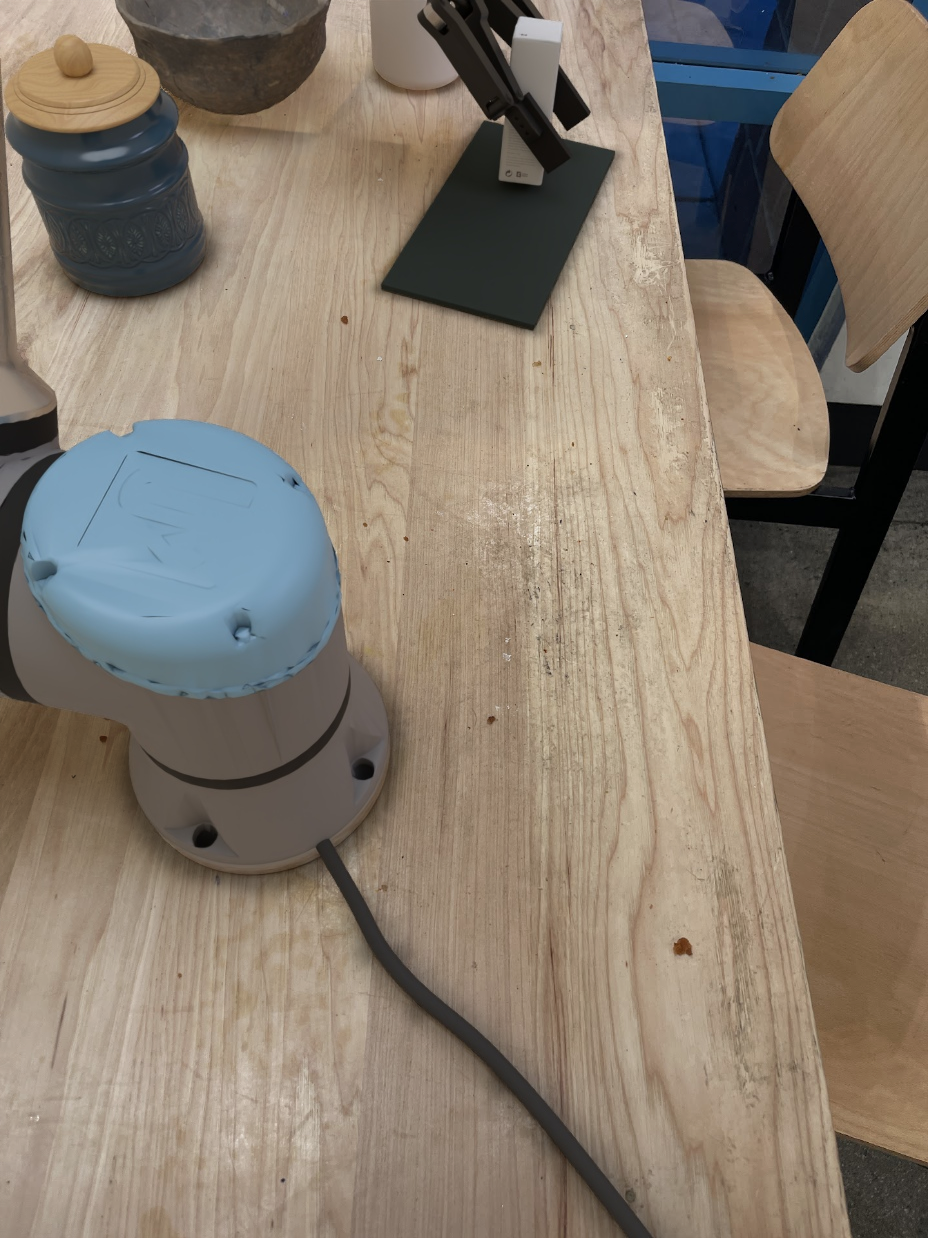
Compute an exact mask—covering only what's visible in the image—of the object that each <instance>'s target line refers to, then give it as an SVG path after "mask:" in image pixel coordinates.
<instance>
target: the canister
mask: <svg viewBox="0 0 928 1238" xmlns="http://www.w3.org/2000/svg"><path fill="white" fill-rule="evenodd" d="M53 44H54V45H53V47H49V48H46V49H44V50H42V51H40V52H38V53H36V54H34V55H32V56H31V57H29V58H28V59H27V60H26V61H25V62H23V64H22V65H21V67H20V68H19V69H18V70H17V71H16V72H15V73H14V74H12V76H11V77H10V79H8V81H7V83H6V84H5V87H4V90H3V97H4V98H3V100H4V103H5V106H6V107H7V109H8V111H9V112H8V114H7V116H6V119H5V121H4V128H5V138H6V140H7V142H8V143H9V146H11V148H12V149H13V150H14V151H15V153H17V154H18V155H20V156H21V158H22V163H21V176H22V179H23V182H24V184H25V185H26V187H27V188H28V189H29V191H30V193H31V195H32V199H33V200H34V202H35V205H36V207H37V210H38V213H39V216H40V217H41V219H42V220H41V221H42V222H43V225H44V228H45V229H46V230H45V231H46V232H47V235H48V242H49V246H50V248H51V251H52V252H53V255H54V258H55V260H56V262H57V263H58V264H59V266H60V267H61V268H62V270H63V271H64V273H65V275H66V276H67V277H68V278H69V280H71V281H72V283H74V284H75V285H77V286H79V287H80V288H82V289H84V290H86V291H89V292H92V293H95V294H99V295H103V296H109V297H123V298H124V297H125V298H126V297H139V296H140V297H141V296H146V295H151V294H154V293H158V292H161V291H163V290H167V289H169V288H171V287H173V286H176V285H178V284H179V283H182V281H184V280H185V279H187V278H188V277H189V276H191V275H192V274H193V273H194V272H195V271H196V270H197V269H198V268H199V266H200V265H201V263H202V262H203V259H204V257H205V254H206V250H207V246H206V245H207V243H206V237H207V230H206V225H205V221H204V216H203V214H202V211H201V209H200V208H199V203H198V200H197V196H196V192H195V187H194V183H193V178H192V175H191V170H190V165H189V163H190V162H189V161H190V157H189V151H188V148H187V146H186V143H185V142H184V140H183V139H182V137H180V135H179V134H178V133H177V129H178V125H179V122H180V113H179V108H178V106H177V104H176V102H175V100H174V98H173V97H172V96H171V95H170V94H169V92H168V91H166V90H164V89H163V88H161V85H160V80H159V77H158V74H157V73H156V71H155V70H154V68H153V67H152V66H151V65H149V64H148V63H147V62H145V61H144V60H142V59H140V58H138V56H136V55H133V54H131V53H128V52H127V51H125V50H123V49H121V48H119V47H117V46H113V45H109V44H104V43H100V42H99V43H98V42H85V41H84V39H82V38H81V37H79V36H77V35H74V34H63V35H60V36H59V37H58V38H56V40H55V41H54V43H53Z"/></svg>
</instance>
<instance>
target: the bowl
mask: <svg viewBox="0 0 928 1238" xmlns="http://www.w3.org/2000/svg"><path fill="white" fill-rule="evenodd" d="M114 2H115V9H116V10H117V12H118V13H119V15H120V17H121V18H122V20H123V22H124V23H125V25H126V26H127V28H128V30H129V32H130V35H131V37H132V40H133V45H134V49H135V52H136V55H137V56H136V57H138V58H140V59H142V60H144V61H145V62H147V63H148V64H149V65H151V66H152V67H153V68H154V70H155V71H156V73H157V74H158V77H159V80H160V87H162V88H164V89H165V91H166V92H168V93H170V94H172V95H173V96H175V97H176V98H177V99H179V100H182V101H183V102H184V103H187V104H188V105H190V106H192V107H194V108H197V109H200V110H203V111H207V112H209V113H213V114H217V115H227V116H245V115H251V114H258V113H260V112H263V111H266V110H268V109H270V108H272V107H274V106H276V105H277V104H279V103H281V102H283V101H285V100H286V99H288V98H289V97H290V96H291V95H292V94H294V93H296V92H297V90H298V89H299V88H300V87H301V86H302V85H303V84H304V83H305V82H306V81H307V79H309V78H310V76H312V74H313V72H314V71H315V69H316V67H317V65H318V64H319V62H320V61H321V59H322V56H323V54H324V52H325V50H326V47H327V26H326V23H327V17H328V12H329V9H330V6H331V2H332V0H114Z"/></svg>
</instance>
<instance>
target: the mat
mask: <svg viewBox="0 0 928 1238" xmlns="http://www.w3.org/2000/svg"><path fill="white" fill-rule="evenodd" d="M503 129H504V123H498V122H496V121H491V120H487V119H484V120H483V121H482V123H481V124H480V126H479V128H478V129H477V131H476V132H475V134H474V136H473V137H472V138H471V140H470V142H469V143H468V145H467V146H466V149H465V150H464V152H463V153H462V155H461V156H460V158H459V159H458V161H457V162H456V164H455V165H454V167H453V169H452V170H451V172H450V174H449V175H448V177H447V178H446V180H445V182H444V183H443V185H442V186H441V188H440V189H439V191H438V193H437V194H436V195H435V197H434V199H433V201H432V202H431V204H430V205H429V207H428V208H427V210H426V212H425V213H424V215H423V216H422V218H421V220H420V221H419V223H418V224H417V226H416V227H415V229H414V231H413V232H412V234H411V235H410V237H409V239H408V240H407V242H406V244H405V245H404V247H403V248H402V249H401V251H400V253H399V255H398V256H397V257H396V260H395V261H394V263H393V264H392V266H391V267H390V269H389V270H388V272H387V274H386V275H385V277H384V278H383V280H382V282H381V283H380V289H381V290H382V291H386V292H389V293H393V294H397V295H400V296H403V297H408V298H412V299H415V300H419V301H422V302H426V303H430V304H434V305H437V306H442V307H445V308H449V309H452V310H457V311H459V312H463V313H468V314H470V315H475V316H479V317H483V318H486V319H489V320H494V321H497V322H501V323H505V324H508V325H512V326H516V327H520V328H522V329H523V328H524V329H527V330H531V331H534V330H535V329H536V327H537V324H538V322H539V320H540V319H541V316H542V313H543V312H544V309H545V307H546V306H547V303H548V301H549V298H550V296H551V295H552V292H553V290H554V287H555V285H556V284H557V281H558V280H559V276H560V275H561V273H562V271H563V268H564V266H565V264H566V262H567V259H568V257H569V255H570V253H571V251H572V249H573V246H574V244H575V243H576V240H577V238H578V236H579V234H580V232H581V230H582V227H583V225H584V223H585V221H586V219H587V216H588V214H589V212H590V210H591V208H592V206H593V204H594V201H595V199H596V197H597V195H598V192H599V191H600V188H601V186H602V184H603V183H604V180H605V178H606V175H607V174H608V171H609V169H610V167H611V165H612V163H613V161H614V158H615V156H616V150H614V149H609V148H606V147H602V146H596V145H594V144H593V145H592V144H588V143H583V142H580V141H575V140H571V139H566V138H563V137H561V138H562V140H563V141H564V142H565V144H566V145H567V147H568V148H569V150H570V151H571V152H572V156H571V158H570V159H569V160H568V161H566V162H565V163H563V164H562V165H560V166H559V167H557V168H556V169H554V170H553V171H552V172H550V173H549V174H547V172H546V171H545V170H544V172H543V178H542V184H541V185H531V184H523V183H515V182H506V181H500V180H499V169H500V159H501V149H502V139H503Z"/></svg>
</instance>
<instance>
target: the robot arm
mask: <svg viewBox="0 0 928 1238" xmlns="http://www.w3.org/2000/svg"><path fill="white" fill-rule="evenodd" d="M519 17H529V18H536V19H544V20H546V19H545V18H544V15H542V13H541V12H540V10H539V9H538V8H537V6H536V5H535V4H534V2H533V0H427V2H426V6H425V7H424V8H423V9H422V10H421V11H420V12H419V13H418V14H417V18H418V21H419V23H420V24H421V25H422V27H423V28H424V29H425V30H426V31H427V32H428V33H429V34H430V35H431V36H432V37H433V38H434V39H435V40H436V42H437V43H438V45H439V46H440V48H441V49H442V51H443V52H444V54H445V55H446V57H447V58H448V60H449V61H450V63H451V64H452V66H453V67H454V69H455V70H456V72H457V73H458V75H459V76H458V77H459V78H460V79H461V81H462V82H463V84H464V85H465V87H466V89H467V90H468V92H469V93H470V95H471V96H472V98H473V99H474V101H475V102H476V104H477V105H478V106H479V108H480V110H481V111H482V112H483V114H484V116H485V117H486V119H487V120H488V121H493V122H496V121H498V120H500V118H502V117H503V116H504V117H505V116H506V117H507V119H508V120H509V122H510V123H511V124H512V126H513V127H514V128H515V130H516V131H517V133H518V134H519V135H520V137H521V138H522V139H523V141H524V142H525V144H526V145H527V146H528V148H529V149H530V150H531V152H532V153H533V155H534V156H535V157H536V159H537V160H538V161H539V163H540V164H541V166H542V167H543V168H544V170H545V171H546V172H547V174H549V173H550V172H552V171H553V170H554V169H556V168H557V167H559V166H560V165H562V164H563V163H565V162H566V161H568V160H569V159H570V158H571V156H572V152H571V151H570V150H569V148H568V147H567V145H566V144H565V142H564V141H563V140H562V138H563V137H561V135H560V134H559V132H558V131H557V129H556V128H555V127H554V125H553V124H552V121H551V122H550V121H549V120H548V118H547V117H546V115H545V114H544V112H543V111H542V110H541V108H540V107H539V105H538V104H537V102H536V101H535V100H534V98H533V97H532V95H531V94H530V92H528V93H527V94H525V95H524V96H523V93H522V91H521V89H520V87H519V85H518V83H517V81H516V79H515V77H514V74H513V72H512V70H511V68H510V63H509V62H508V61H507V59H506V57H505V54H504V52H503V50H502V48H501V46H500V43H499V42H498V40H497V38H496V36H495V34H496V35H497V36H498V37H499V38H500V39H501V40H502V41H503V42H504V43H505V44H506V45H507V46H508V47H509V48H510V49H511V47H512V39H513V35H514V31H515V26H516V24H517V22H518V19H519ZM494 32H495V34H494ZM1 61H2V60H1V59H0V698H4V699H9V700H12V701H13V700H14V701H19V702H24V703H32V704H36V705H41V706H45V707H48V708H49V707H50V708H55V709H59V710H63V711H69V712H72V713H77V714H81V715H87V716H93V717H98V718H103V719H106V720H111V721H114V722H117V723H119V724H122V725H124V726H126V727H127V729H128V730H129V732H130V735H129V746H128V768H129V769H128V770H129V777H130V782H131V786H132V790H133V793H134V795H135V798H136V801H137V803H138V805H139V807H140V809H141V811H142V812H143V814H144V816H145V817H146V818H147V821H148V822H149V824H151V825H152V827H153V828H154V829H155V831H156V832H157V833H158V835H160V836H161V838H162V839H163V840H164V841H165V842H166V843H168V845H169V846H171V848H173V849H174V850H176V851H177V852H178V853H179V854H181V855H182V856H184V857H185V858H188V859H189V860H191V861H193V862H195V863H196V864H199V865H201V866H203V867H206V868H210V869H213V870H216V871H218V872H224V873H229V874H237V875H265V874H274V873H277V872H284V871H287V870H291V869H293V868H297V867H300V866H302V865H305V864H307V863H308V864H309V862H312V861H314V860H317V859H318V858H321V860H322V862H323V864H324V865H325V867H326V869H327V871H328V872H329V874H330V876H331V877H332V879H333V881H334V883H335V885H336V886H337V888H338V890H339V891H340V893H341V896H342V897H343V899H344V900H345V902H346V904H347V906H348V907H349V910H350V912H351V913H352V915H353V917H354V919H355V921H356V924H357V926H358V927H359V929H360V931H361V933H362V935H363V938H364V939H365V941H366V943H367V945H368V946H369V948H370V950H371V952H372V953H373V954H374V956H375V958H376V959H377V960H378V962H379V963H380V965H381V966H382V967H383V968H384V970H385V971H386V972H387V973H388V974H389V975H390V977H391V978H392V980H394V982H395V983H396V984H398V986H399V987H400V989H402V990H403V991H404V992H405V993H406V994H407V995H408V996H409V997H410V998H411V999H412V1000H413V1001H414V1002H415V1003H417V1004H418V1005H419V1006H420V1007H421V1008H422V1009H423V1010H424V1011H426V1012H427V1013H428V1014H429V1015H430V1016H431V1017H433V1019H435V1020H436V1021H437V1022H439V1023H440V1024H441V1025H443V1026H444V1027H445V1028H446V1029H447V1030H448V1031H449V1032H451V1033H452V1034H453V1035H454V1036H455V1037H457V1038H458V1039H459V1040H460V1041H461V1042H463V1044H465V1045H466V1046H467V1047H468V1048H469V1049H470V1050H471V1051H472V1052H473V1053H474V1054H476V1055H477V1056H478V1057H479V1058H480V1059H481V1060H482V1062H483V1063H484V1064H486V1065H487V1067H488V1068H489V1069H490V1070H491V1071H492V1072H493V1073H494V1074H495V1075H496V1076H497V1077H498V1079H500V1081H501V1082H502V1083H503V1084H504V1085H505V1086H506V1087H507V1088H508V1089H509V1091H510V1092H511V1093H512V1094H513V1095H514V1096H515V1097H516V1098H517V1100H519V1102H520V1103H521V1104H522V1105H523V1106H524V1108H525V1109H526V1110H527V1111H528V1112H529V1113H530V1114H531V1115H532V1117H533V1119H535V1121H536V1122H537V1123H538V1124H539V1126H541V1128H542V1129H543V1130H544V1131H545V1133H546V1134H547V1135H548V1136H549V1138H550V1139H551V1140H552V1142H553V1143H554V1144H555V1145H556V1146H557V1147H558V1149H559V1150H560V1151H561V1153H562V1154H563V1155H564V1157H566V1159H567V1160H568V1162H570V1164H571V1165H572V1166H573V1168H574V1169H575V1170H576V1172H577V1173H578V1175H580V1177H581V1178H582V1180H584V1182H585V1184H587V1186H588V1187H589V1188H590V1190H591V1191H592V1192H593V1194H594V1195H595V1197H597V1199H598V1201H600V1202H601V1204H603V1206H604V1208H605V1209H606V1211H607V1212H608V1213H609V1214H610V1215H611V1217H612V1218H613V1219H614V1221H615V1222H616V1223H617V1224H618V1226H619V1227H620V1229H622V1231H623V1232H624V1234H625V1236H627V1238H654V1237H653V1236H652V1233H650V1232H649V1230H648V1229H647V1228H646V1226H645V1224H644V1223H643V1222H642V1221H641V1220H640V1218H639V1217H638V1216H637V1214H636V1213H635V1211H634V1210H632V1208H631V1207H630V1204H628V1203H627V1201H626V1200H625V1199H624V1198H623V1197H622V1195H621V1193H619V1191H618V1190H617V1189H616V1187H615V1186H614V1185H613V1183H612V1182H611V1181H610V1180H609V1179H608V1177H607V1176H606V1175H605V1173H604V1172H603V1171H602V1169H601V1168H600V1167H599V1166H598V1165H597V1163H596V1162H595V1161H594V1160H593V1158H592V1157H591V1156H590V1155H589V1154H588V1153H589V1152H587V1150H585V1148H584V1147H583V1146H582V1144H580V1142H579V1141H578V1139H577V1138H576V1137H575V1136H574V1135H573V1133H572V1132H571V1131H570V1129H569V1128H568V1127H567V1126H566V1124H564V1122H563V1121H562V1120H561V1119H560V1117H559V1116H558V1115H557V1114H556V1112H554V1110H553V1109H552V1108H551V1107H550V1105H549V1104H548V1103H547V1102H546V1101H545V1099H544V1098H543V1097H542V1096H541V1095H540V1094H539V1093H538V1092H537V1090H535V1088H534V1087H533V1086H532V1085H531V1084H530V1082H529V1081H528V1080H527V1079H526V1078H525V1077H524V1076H523V1075H522V1073H521V1072H519V1070H518V1069H517V1068H516V1067H515V1066H514V1065H513V1064H512V1063H511V1062H510V1061H509V1059H508V1058H507V1057H506V1056H505V1055H504V1054H503V1053H502V1052H501V1051H500V1050H499V1049H498V1048H497V1047H496V1046H495V1045H494V1044H493V1043H492V1042H491V1041H490V1040H489V1039H488V1038H487V1037H486V1036H485V1035H483V1034H482V1033H481V1032H480V1030H478V1029H477V1028H476V1027H475V1026H473V1024H471V1023H470V1022H469V1021H467V1020H466V1019H465V1018H464V1017H462V1015H460V1014H459V1013H458V1012H457V1011H456V1010H454V1009H453V1008H452V1007H451V1006H449V1005H448V1004H447V1003H445V1002H444V1001H443V1000H442V999H441V998H439V996H438V995H436V994H435V993H433V991H431V990H430V989H429V988H428V987H427V986H426V985H425V984H424V983H423V982H422V981H421V980H420V979H418V978H417V977H416V975H415V974H414V973H412V972H411V970H410V969H409V968H408V967H407V966H406V965H405V964H404V963H403V961H402V960H401V959H400V958H399V957H398V955H397V954H396V953H395V951H394V950H393V949H392V947H391V946H390V944H388V941H387V940H386V938H385V937H384V935H383V933H382V931H381V929H380V928H379V926H378V924H377V922H376V920H375V918H374V916H373V914H372V912H371V910H370V908H369V906H368V904H367V902H366V900H365V898H364V897H363V894H362V892H361V891H360V890H359V888H358V886H357V884H356V882H355V880H354V879H353V878H352V876H351V874H350V872H349V870H348V868H347V867H346V865H345V863H344V862H343V860H342V858H341V857H340V855H339V853H338V851H337V850H336V847H337V846H338V845H340V844H341V843H342V842H343V841H345V840H346V839H347V838H348V837H349V836H351V834H353V833H354V831H355V830H356V829H357V828H358V827H359V826H360V825H361V824H362V822H363V821H364V820H365V819H366V818H367V816H368V815H369V814H370V812H371V810H372V808H373V807H374V806H375V804H376V803H377V800H378V798H379V796H380V793H381V792H382V789H383V787H384V784H385V781H386V778H387V774H388V770H389V764H390V757H391V734H390V722H389V716H388V711H387V707H386V704H385V701H384V698H383V696H382V694H381V691H380V689H379V687H378V685H377V684H376V682H375V680H374V679H373V677H372V675H371V674H370V673H369V671H368V670H367V669H366V668H365V667H364V665H363V664H362V663H361V662H360V661H359V660H358V659H357V658H356V657H355V656H354V655H353V654H352V653H351V652H350V651H349V650H348V643H347V636H346V635H347V634H346V627H345V620H344V619H345V618H344V613H343V605H342V600H343V599H342V598H343V593H342V591H341V590H342V589H341V587H342V573H341V571H340V567H339V565H340V564H339V559H338V556H337V552H336V549H335V547H334V544H333V542H332V539H331V536H330V535H329V532H328V527H327V525H326V521H325V518H324V515H323V512H322V509H321V507H320V505H319V503H318V501H317V499H316V497H315V495H314V494H313V493H312V491H311V490H310V488H309V487H308V486H307V484H306V483H305V482H304V479H303V478H302V476H301V475H300V474H299V473H298V471H297V470H296V469H295V468H294V467H293V466H292V465H291V464H290V463H289V462H288V461H286V460H285V458H283V457H282V456H281V455H279V454H278V453H277V452H276V451H274V450H273V449H271V448H270V447H268V446H267V445H266V444H263V443H262V442H260V441H258V440H257V439H255V438H252V437H251V436H249V435H246V434H245V433H242V432H240V431H237V430H235V429H231V428H228V427H225V426H222V425H219V424H216V423H210V422H206V421H200V420H194V419H184V418H179V419H178V418H175V419H174V418H158V419H145V420H140V421H136V422H133V424H132V427H131V428H132V431H131V432H129V433H126V434H124V435H121V436H119V435H117V434H115V433H113V432H112V431H111V430H110V429H107V430H103V431H101V432H98V433H96V434H93V435H90V436H89V437H88V438H86V439H84V440H82V441H80V442H78V443H77V444H75V445H74V446H72V447H70V449H67V450H64V449H61V446H60V431H59V417H58V414H59V413H58V399H57V394H56V391H55V390H54V389H53V388H52V387H51V386H50V385H49V384H48V383H47V382H46V381H45V380H44V379H43V377H41V376H40V375H39V374H38V373H36V371H34V370H33V369H32V368H31V366H29V365H28V364H27V363H26V362H25V361H24V359H23V358H22V356H21V355H20V353H19V352H18V336H17V335H18V333H17V319H16V302H15V285H14V284H15V283H14V269H13V268H14V267H13V266H14V265H13V252H12V251H13V250H12V233H11V232H12V231H11V217H10V200H9V183H8V182H9V181H8V165H7V163H8V162H7V150H6V149H7V148H6V134H5V115H4V98H3V97H4V93H3V81H2V80H3V79H2V77H3V76H2V63H1ZM552 113H553V114H554V115H555V117H556V118H557V120H558V121H559V122H560V124H561V125H562V127H563V128H564V130H565V131H566V132H569V131H570V130H571V129H573V128H575V127H576V126H577V125H578V124H580V123H581V122H583V121H584V120H585V119H587V118H589V117H590V115H591V113H592V110H591V109H590V108H589V107H588V105H587V104H586V102H585V100H584V99H583V97H582V96H581V95H580V93H579V91H578V90H577V88H576V87H575V85H574V84H573V83H572V81H571V79H570V78H569V76H568V74H567V73H566V72H565V71H564V69H563V67H562V66H561V65H560V64H559V67H558V74H557V82H556V90H555V97H554V105H553V112H552Z"/></svg>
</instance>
